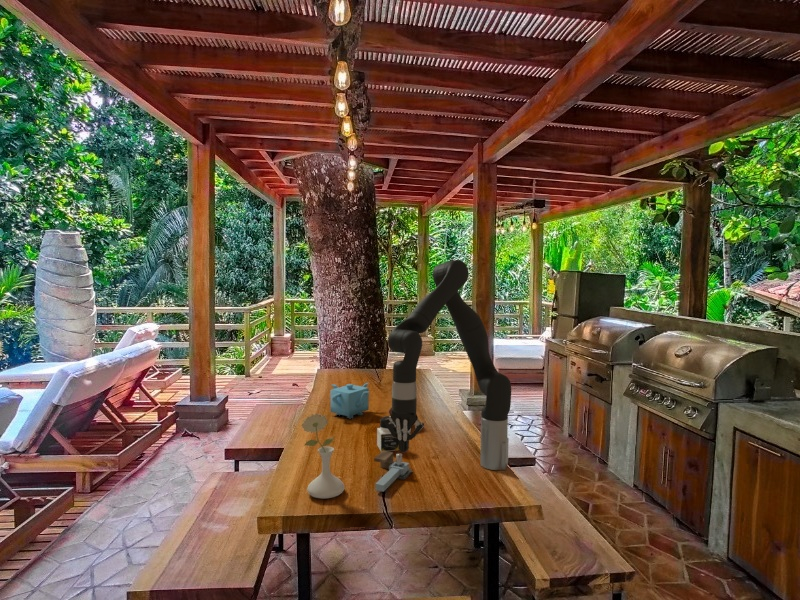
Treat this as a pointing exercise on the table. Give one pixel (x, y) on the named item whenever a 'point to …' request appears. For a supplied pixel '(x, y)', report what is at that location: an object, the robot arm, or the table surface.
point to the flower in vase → (326, 481)
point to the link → (391, 476)
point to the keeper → (384, 459)
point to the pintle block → (399, 464)
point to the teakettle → (349, 400)
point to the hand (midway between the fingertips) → (403, 451)
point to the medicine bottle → (386, 437)
